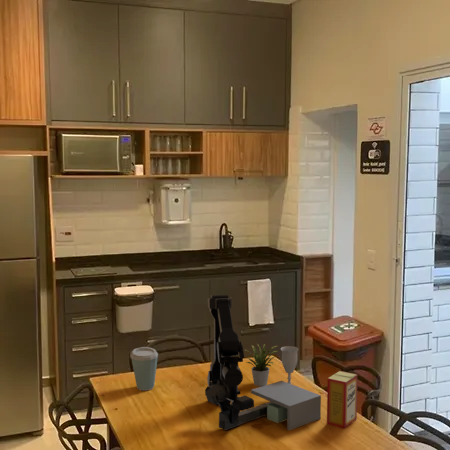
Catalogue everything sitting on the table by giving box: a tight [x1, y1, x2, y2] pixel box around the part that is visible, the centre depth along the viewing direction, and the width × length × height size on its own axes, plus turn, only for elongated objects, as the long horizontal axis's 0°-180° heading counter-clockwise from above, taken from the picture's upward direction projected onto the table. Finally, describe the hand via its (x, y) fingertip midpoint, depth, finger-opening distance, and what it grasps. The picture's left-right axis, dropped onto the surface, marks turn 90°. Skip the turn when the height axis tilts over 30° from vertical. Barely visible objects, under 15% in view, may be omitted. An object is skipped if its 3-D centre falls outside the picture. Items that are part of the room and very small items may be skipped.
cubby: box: [250, 380, 322, 431], centre depth 213 cm, size 19×15×8 cm
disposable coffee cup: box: [130, 346, 159, 392], centre depth 240 cm, size 11×11×15 cm
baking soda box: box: [326, 370, 359, 429], centre depth 208 cm, size 10×6×16 cm
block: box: [266, 403, 288, 424], centre depth 211 cm, size 5×5×5 cm
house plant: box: [243, 343, 278, 387], centre depth 244 cm, size 14×14×16 cm
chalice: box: [280, 345, 299, 384], centre depth 232 cm, size 7×7×18 cm
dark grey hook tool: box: [218, 401, 273, 431], centre depth 208 cm, size 9×25×5 cm, turn 133°
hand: (229, 421), depth 203 cm, fingers closed on dark grey hook tool, 3 cm apart
